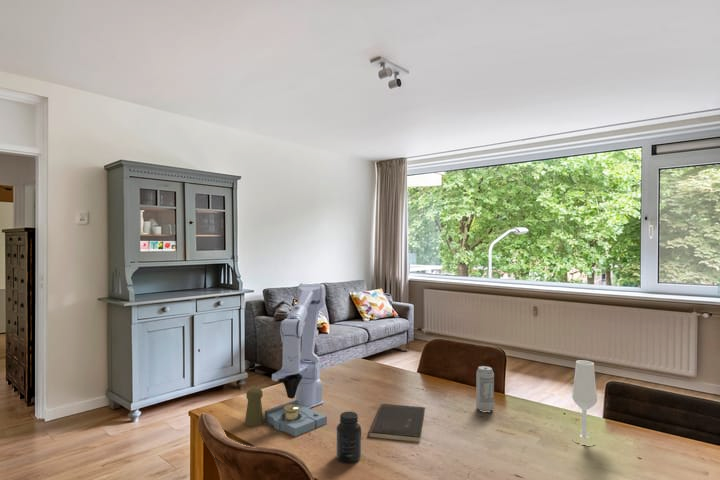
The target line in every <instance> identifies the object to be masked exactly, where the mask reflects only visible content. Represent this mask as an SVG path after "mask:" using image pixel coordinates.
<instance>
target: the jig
mask: <svg viewBox="0 0 720 480" xmlns="http://www.w3.org/2000/svg"><path fill="white" fill-rule="evenodd" d="M290 404H295V405H298V406H299V410H298V420H296V421H285V411H284V406H286V405H290ZM264 421H265V422H266V423H268V424H270V425H271V426H273V429H275V430H277V431H278V432H284V433H286V434H290V435H291V436H293V437H299V436H300V435H303V434H305V433H309V431H313V430H315V429H318V428H320V427H322V426H325V425H327V423H328V422H327V421H328V416H327V415H325V414H322V413H321V412H319V411H315V410H313V409H311V408H307V407H304V406H302V405H300V404H298V401H297V400H296V399H295V400H292V401H290V402H287V403H283V404H281V405H277V406H275V407H272V408H268V409H266V410H265V411H264Z"/></svg>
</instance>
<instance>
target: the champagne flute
mask: <svg viewBox="0 0 720 480" xmlns="http://www.w3.org/2000/svg"><path fill="white" fill-rule="evenodd" d="M595 374H596V372H595V363H594V362H592V361H590V360H584V359H583V360H581V359H579V360H578V359H577V360H576V361H575V370H574V377H573V378H574V379H573V385H572V386H573V387H572V396H571V397H572V400H573V402H574V403H575V404H576V406H578V407H579V408H580V409H581V434H579V435H580V437H582V438H588V437H589V436H588V435H587V413H588V412H587V410H590V409H591V408H593V407H594V406H595V405H596V404H597V403H598V395H597V393H598V392H597V384H596V375H595Z"/></svg>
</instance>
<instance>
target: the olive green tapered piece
mask: <svg viewBox="0 0 720 480" xmlns="http://www.w3.org/2000/svg"><path fill="white" fill-rule="evenodd" d="M262 398H263V390H262V389H261V388H259V387H253V388H250V389H248V390H247V391H246V400H247V403H246V404H247V405H246V412H245V421H244V425H245V426H247V427H250V428H251V427H253V428H254V427H259V426H261V425H262V426H263V424H264V423H265V422H264V421H265V420H264V413H263V407H262Z"/></svg>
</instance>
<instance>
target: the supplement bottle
mask: <svg viewBox="0 0 720 480" xmlns="http://www.w3.org/2000/svg"><path fill="white" fill-rule="evenodd" d="M358 417H359V416H358V414H357V413H356V412H355V411H344V412H342V413H340V415H339V418H340V419H339V423H338V425H337V426H336V458H337V460H338V461H339V462H341V463H343V464H353V463H354V464H355V463H356V462H358V461H360V460H361V457H362V426H361V424H360V423H359V419H358Z"/></svg>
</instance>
